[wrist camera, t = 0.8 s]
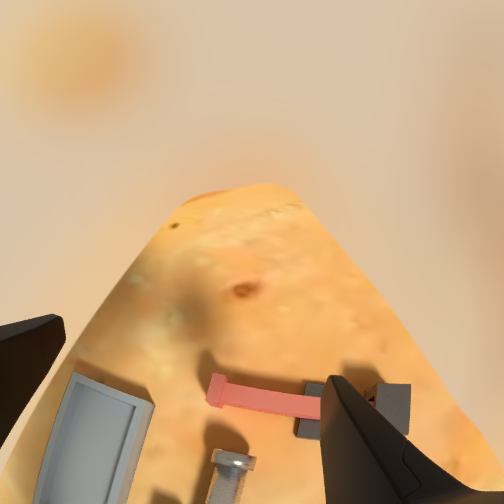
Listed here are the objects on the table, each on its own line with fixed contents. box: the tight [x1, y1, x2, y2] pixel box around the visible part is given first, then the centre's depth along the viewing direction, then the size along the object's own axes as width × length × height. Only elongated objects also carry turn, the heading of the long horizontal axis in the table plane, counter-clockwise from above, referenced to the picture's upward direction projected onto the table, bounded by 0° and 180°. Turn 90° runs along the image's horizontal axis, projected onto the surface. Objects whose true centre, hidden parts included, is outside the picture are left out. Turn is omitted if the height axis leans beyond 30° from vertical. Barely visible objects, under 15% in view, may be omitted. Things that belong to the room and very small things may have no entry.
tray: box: [33, 371, 155, 504], centre depth 18 cm, size 17×9×2 cm, turn 168°
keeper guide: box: [297, 383, 411, 440], centre depth 21 cm, size 5×8×4 cm, turn 78°
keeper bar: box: [205, 373, 374, 420], centre depth 21 cm, size 2×16×2 cm, turn 78°
